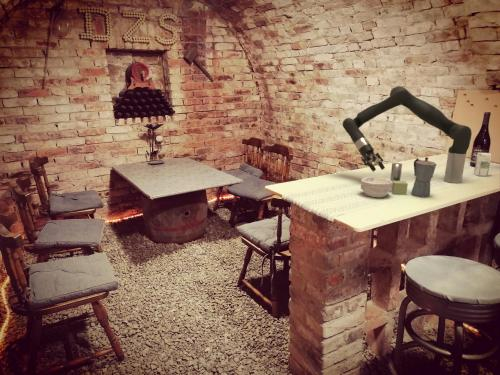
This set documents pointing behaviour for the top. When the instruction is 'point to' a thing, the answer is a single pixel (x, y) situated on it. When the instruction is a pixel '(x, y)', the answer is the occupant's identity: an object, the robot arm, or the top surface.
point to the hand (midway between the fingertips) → (379, 169)
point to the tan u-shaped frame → (399, 187)
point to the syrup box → (482, 164)
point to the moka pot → (423, 177)
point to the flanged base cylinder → (396, 172)
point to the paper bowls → (376, 186)
